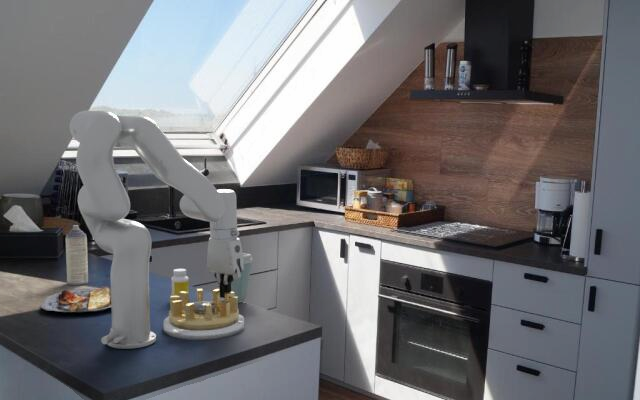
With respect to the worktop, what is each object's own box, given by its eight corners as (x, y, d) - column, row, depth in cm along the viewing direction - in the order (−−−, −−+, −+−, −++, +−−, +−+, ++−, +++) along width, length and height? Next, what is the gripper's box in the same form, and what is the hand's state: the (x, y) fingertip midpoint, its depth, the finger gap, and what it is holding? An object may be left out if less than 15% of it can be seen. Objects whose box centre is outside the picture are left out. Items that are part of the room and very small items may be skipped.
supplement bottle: (192, 300, 226) (192, 269, 224) (178, 303, 222) (177, 272, 220) (182, 297, 229) (181, 267, 228) (167, 300, 225) (167, 269, 224)
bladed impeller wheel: (203, 334, 185) (203, 310, 184) (154, 321, 196) (153, 298, 195) (252, 317, 200) (252, 295, 199) (204, 306, 211) (204, 284, 211)
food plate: (50, 295, 229) (50, 285, 229) (125, 293, 234) (125, 282, 233) (36, 320, 205) (36, 308, 204) (121, 317, 210) (120, 305, 209)
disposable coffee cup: (212, 299, 227) (212, 252, 225) (242, 294, 234) (242, 248, 232) (229, 306, 219) (228, 258, 217) (259, 301, 225) (259, 254, 223)
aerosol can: (87, 280, 250) (85, 223, 248) (88, 284, 244) (86, 226, 241) (67, 281, 248) (64, 224, 245) (67, 286, 242) (65, 227, 239)
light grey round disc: (219, 344, 184) (219, 335, 184) (147, 333, 192) (147, 325, 192) (257, 320, 205) (257, 313, 204) (190, 312, 213) (190, 305, 212)
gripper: (253, 233, 201) (254, 297, 204) (212, 228, 209) (214, 290, 212) (235, 238, 195) (237, 303, 197) (194, 233, 203) (196, 296, 205)
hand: (225, 296), depth 205 cm, fingers closed
